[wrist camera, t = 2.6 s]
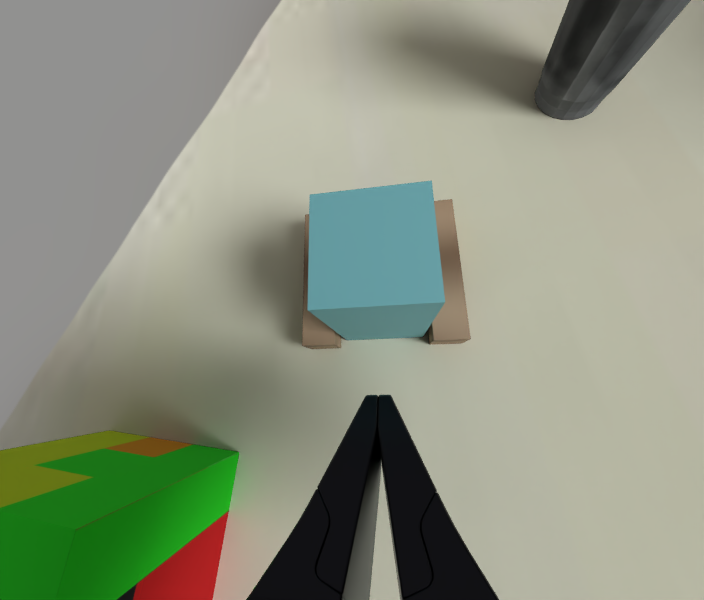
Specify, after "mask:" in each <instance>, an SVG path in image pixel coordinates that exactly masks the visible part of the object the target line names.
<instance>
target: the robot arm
mask: <svg viewBox="0 0 704 600" xmlns="http://www.w3.org/2000/svg"><path fill="white" fill-rule="evenodd" d="M381 461H382V469H383V477H384V484H385V491H386V499H387V506H388V513H389V520H390V528H391V535H392V542H393V550H394V557H395V564H396V571H397V579H398V586H399V593H400V600H499V599H498V597H497V595H496V594H495V592H494V591H493V589H492V587H491V586H490V584H489V582H488V581H487V579H486V578H485V576H484V574H483V573H482V571H481V569H480V568H479V566H478V565H477V563H476V561H475V560H474V558H473V556H472V555H471V553H470V552H469V550H468V548H467V547H466V545H465V543H464V541H463V540H462V538H461V536H460V534H459V533H458V531H457V529H456V528H455V526H454V524H453V522H452V520H451V518H450V516H449V514H448V512H447V510H446V508H445V506H444V504H443V502H442V500H441V498H440V496H439V494H438V493H437V490H436V488H435V486H434V484H433V482H432V480H431V478H430V475H429V473H428V471H427V469H426V467H425V465H424V463H423V461H422V459H421V457H420V455H419V453H418V451H417V448H416V446H415V444H414V442H413V440H412V438H411V436H410V434H409V432H408V430H407V428H406V426H405V423H404V421H403V419H402V417H401V415H400V413H399V411H398V409H397V407H396V405H395V403H394V401H393V399H392V397H391V395H379V397H378V396H377V395H367V396H366V397H365V398H364V400H363V402H362V404H361V406H360V408H359V409H358V411H357V413H356V415H355V417H354V419H353V421H352V423H351V425H350V426H349V428H348V430H347V432H346V434H345V436H344V438H343V440H342V442H341V443H340V445H339V447H338V449H337V451H336V453H335V455H334V457H333V459H332V460H331V462H330V464H329V466H328V468H327V470H326V472H325V474H324V476H323V477H322V479H321V481H320V483H319V485H318V489H316V490H315V492H314V494H313V496H312V498H311V500H310V502H309V504H308V505H307V507H306V509H305V511H304V512H303V514H302V516H301V518H300V520H299V521H298V523H297V524H296V526H295V527H294V529H293V531H292V532H291V534H290V535H289V537H288V539H287V540H286V542H285V543H284V545H283V546H282V548H281V549H280V551H279V552H278V554H277V555H276V557H275V558H274V560H273V561H272V563H271V564H270V566H269V567H268V569H267V570H266V572H265V573H264V575H263V576H262V578H261V579H260V581H259V582H258V584H257V585H256V586H255V588H254V589H253V591H252V592H251V594H250V595H249V597H248V598H247V599H246V600H369V597H370V586H371V575H372V564H373V553H374V542H375V531H376V520H377V509H378V498H379V487H380V475H381Z"/></svg>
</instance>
